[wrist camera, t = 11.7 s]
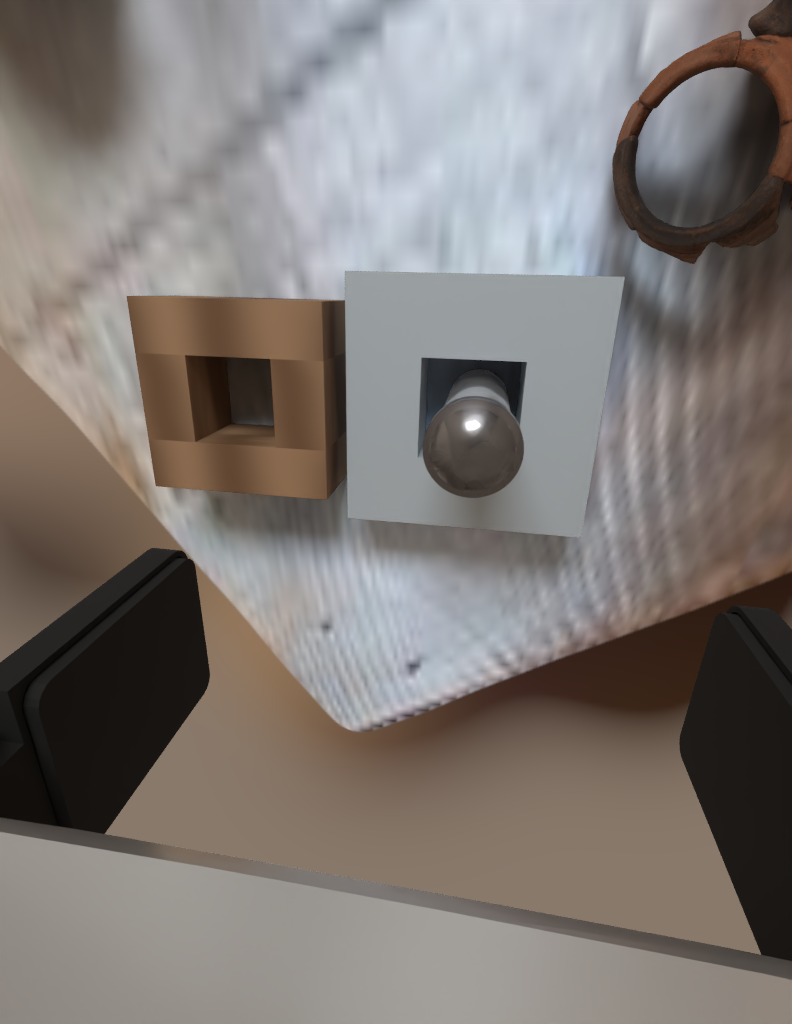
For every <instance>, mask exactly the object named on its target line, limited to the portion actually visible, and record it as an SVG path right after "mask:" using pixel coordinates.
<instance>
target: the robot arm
mask: <svg viewBox="0 0 792 1024" xmlns="http://www.w3.org/2000/svg"><path fill="white" fill-rule="evenodd" d="M209 678H210V672H209V664H208V657H207V649H206V642H205V635H204V627H203V621H202V613H201V605H200V598H199V591H198V583H197V576H196V569H195V564H194V562H193V561H192V560H191V559H188V558H187V556H186V554H185V553H184V552H183V551H179V550H169V549H168V550H167V549H159V548H151V549H149V550H147V551H146V552H145V553H144V554H142V555H141V556H140V557H138V558H137V559H136V560H134V561H133V562H132V563H130V564H129V565H128V566H127V567H125V568H124V569H123V570H121V571H120V572H119V573H117V574H116V575H115V576H113V577H112V578H111V579H109V580H108V581H107V582H106V583H104V584H103V585H102V586H100V587H99V588H98V589H96V590H95V591H94V592H92V593H91V594H90V595H88V596H87V597H86V598H84V599H83V600H82V601H81V602H79V603H78V604H77V605H75V606H74V607H73V608H71V609H70V610H69V611H67V612H66V613H65V614H63V615H62V616H61V617H60V618H58V619H57V620H56V621H54V622H53V623H52V624H50V625H49V626H48V627H47V628H45V629H44V630H42V631H41V632H40V633H39V634H37V635H36V636H35V637H33V638H32V639H31V640H29V641H28V642H27V643H25V644H24V645H23V646H21V647H20V648H19V649H17V650H16V651H15V652H14V653H12V654H11V655H10V656H8V657H7V658H6V659H5V660H3V661H2V662H0V1024H792V629H791V628H790V627H789V626H788V625H787V624H786V622H785V621H784V620H783V619H782V618H781V617H780V616H779V615H778V613H777V612H775V611H774V610H772V609H765V608H755V607H744V606H732V607H730V608H729V609H728V610H727V612H726V613H719V614H717V616H716V617H715V620H714V622H713V625H712V629H711V632H710V636H709V639H708V643H707V646H706V649H705V653H704V657H703V660H702V663H701V666H700V670H699V673H698V677H697V680H696V683H695V687H694V690H693V693H692V697H691V700H690V704H689V707H688V711H687V714H686V718H685V721H684V724H683V728H682V731H681V735H680V753H681V757H682V760H683V762H684V765H685V767H686V769H687V772H688V774H689V777H690V780H691V782H692V785H693V787H694V789H695V792H696V794H697V797H698V799H699V802H700V804H701V807H702V809H703V811H704V814H705V817H706V819H707V821H708V824H709V826H710V829H711V831H712V834H713V836H714V839H715V841H716V844H717V846H718V849H719V851H720V854H721V856H722V858H723V861H724V863H725V866H726V868H727V871H728V873H729V875H730V878H731V881H732V883H733V885H734V888H735V891H736V893H737V895H738V898H739V900H740V903H741V905H742V908H743V910H744V913H745V915H746V918H747V920H748V922H749V925H750V928H751V930H752V932H753V935H754V937H755V940H756V942H757V945H758V947H759V950H760V952H761V955H759V954H754V953H749V952H744V951H740V950H734V949H730V948H725V947H720V946H715V945H710V944H705V943H700V942H694V941H689V940H684V939H678V938H673V937H668V936H662V935H657V934H652V933H646V932H641V931H636V930H630V929H625V928H620V927H614V926H609V925H604V924H598V923H593V922H587V921H582V920H577V919H572V918H566V917H561V916H555V915H550V914H545V913H539V912H534V911H529V910H523V909H518V908H513V907H508V906H502V905H497V904H491V903H485V902H481V901H475V900H470V899H464V898H459V897H453V896H448V895H442V894H437V893H431V892H426V891H420V890H414V889H409V888H404V887H398V886H392V885H387V884H382V883H377V882H371V881H366V880H360V879H354V878H349V877H343V876H337V875H332V874H327V873H321V872H315V871H310V870H305V869H299V868H293V867H288V866H282V865H277V864H271V863H266V862H260V861H254V860H249V859H243V858H237V857H231V856H226V855H220V854H215V853H208V852H203V851H198V850H192V849H186V848H180V847H175V846H169V845H163V844H157V843H151V842H146V841H140V840H135V839H129V838H123V837H118V836H112V835H106V834H105V832H106V831H107V829H108V828H109V827H110V825H111V824H112V823H113V821H114V820H115V818H116V817H117V816H118V814H119V813H120V811H121V810H122V809H123V807H124V806H125V804H126V803H127V801H128V800H129V799H130V797H131V796H132V794H133V793H134V791H135V790H136V789H137V787H138V786H139V785H140V783H141V782H142V780H143V779H144V777H145V776H146V775H147V773H148V772H149V770H150V769H151V767H152V766H153V765H154V763H155V762H156V760H157V759H158V758H159V756H160V755H161V753H162V752H163V751H164V749H165V748H166V746H167V745H168V744H169V742H170V741H171V739H172V738H173V737H174V735H175V734H176V732H177V731H178V730H179V728H180V727H181V725H182V724H183V723H184V721H185V720H186V718H187V717H188V715H189V714H190V713H191V711H192V710H193V708H194V707H195V706H196V704H197V703H198V701H199V700H200V699H201V697H202V696H203V694H204V693H205V691H206V689H207V686H208V683H209Z"/></svg>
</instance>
